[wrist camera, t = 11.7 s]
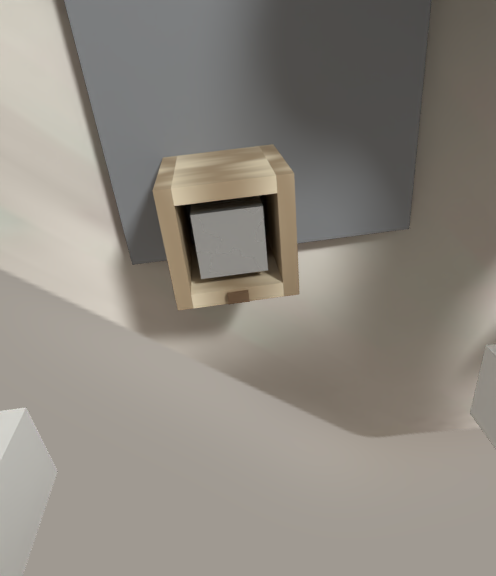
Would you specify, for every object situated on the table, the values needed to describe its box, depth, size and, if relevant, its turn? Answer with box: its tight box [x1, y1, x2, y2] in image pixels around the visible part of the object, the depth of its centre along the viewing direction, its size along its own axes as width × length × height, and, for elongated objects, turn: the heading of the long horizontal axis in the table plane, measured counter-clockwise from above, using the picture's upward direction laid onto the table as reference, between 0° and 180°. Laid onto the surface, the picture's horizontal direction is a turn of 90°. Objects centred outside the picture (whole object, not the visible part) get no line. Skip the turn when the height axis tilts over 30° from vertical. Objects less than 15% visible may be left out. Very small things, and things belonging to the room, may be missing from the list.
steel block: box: [190, 196, 268, 279], centre depth 27 cm, size 4×4×8 cm
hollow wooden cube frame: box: [153, 144, 299, 310], centre depth 26 cm, size 7×7×7 cm
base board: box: [64, 0, 431, 265], centre depth 27 cm, size 20×19×2 cm
